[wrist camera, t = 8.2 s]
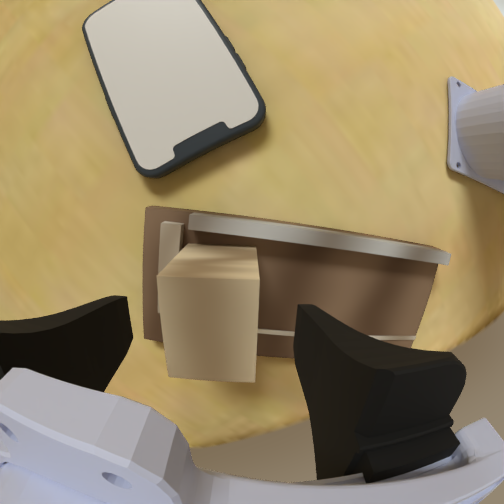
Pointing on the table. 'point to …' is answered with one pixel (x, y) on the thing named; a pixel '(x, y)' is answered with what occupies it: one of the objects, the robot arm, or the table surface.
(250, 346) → the block
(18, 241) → the table surface
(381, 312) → the board
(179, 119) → the smartphone
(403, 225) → the table surface
